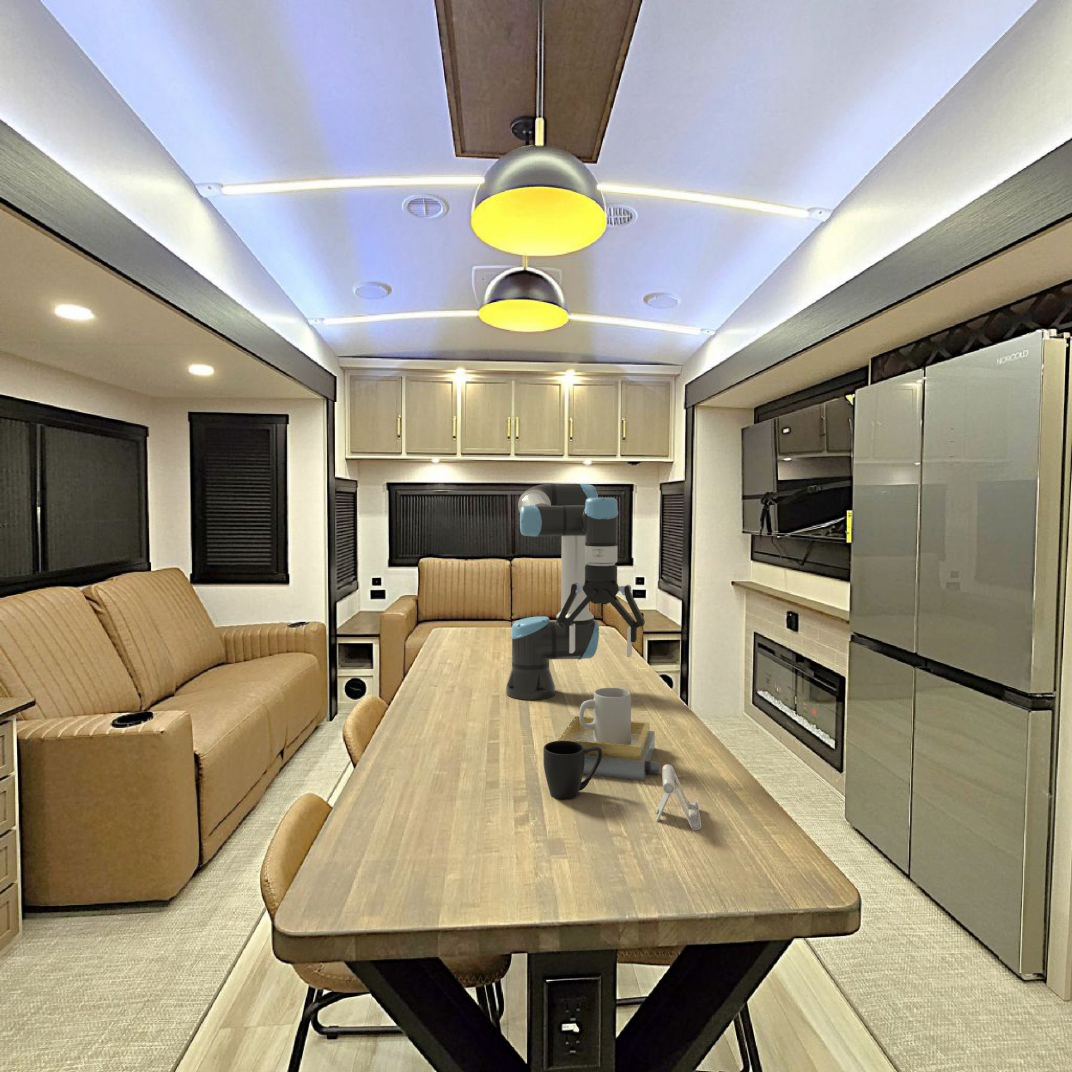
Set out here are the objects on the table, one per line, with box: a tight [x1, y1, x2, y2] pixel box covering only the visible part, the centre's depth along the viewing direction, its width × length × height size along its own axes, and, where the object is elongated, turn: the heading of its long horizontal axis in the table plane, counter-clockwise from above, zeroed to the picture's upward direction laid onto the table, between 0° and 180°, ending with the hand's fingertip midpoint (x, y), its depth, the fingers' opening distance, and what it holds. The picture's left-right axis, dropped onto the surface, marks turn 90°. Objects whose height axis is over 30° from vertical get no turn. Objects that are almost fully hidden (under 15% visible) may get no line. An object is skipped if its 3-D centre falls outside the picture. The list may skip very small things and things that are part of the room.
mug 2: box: [578, 687, 632, 744], centre depth 152 cm, size 12×8×11 cm
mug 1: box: [542, 740, 602, 801], centre depth 134 cm, size 8×12×10 cm
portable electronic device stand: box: [655, 764, 702, 831], centre depth 123 cm, size 9×8×8 cm
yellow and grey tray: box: [557, 715, 661, 782], centre depth 152 cm, size 23×20×6 cm
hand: (600, 654), depth 156 cm, fingers open, 13 cm apart
